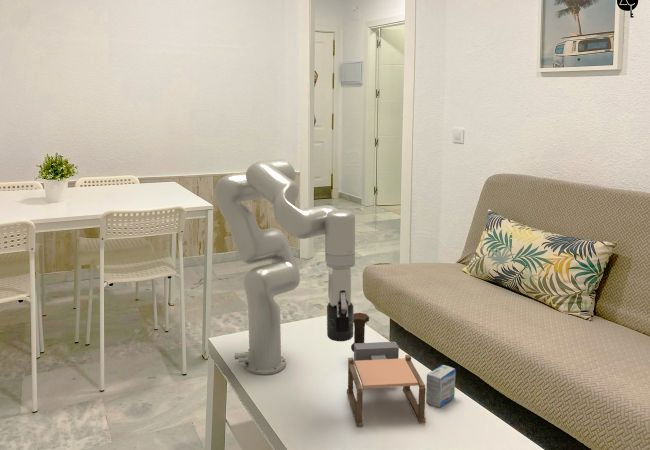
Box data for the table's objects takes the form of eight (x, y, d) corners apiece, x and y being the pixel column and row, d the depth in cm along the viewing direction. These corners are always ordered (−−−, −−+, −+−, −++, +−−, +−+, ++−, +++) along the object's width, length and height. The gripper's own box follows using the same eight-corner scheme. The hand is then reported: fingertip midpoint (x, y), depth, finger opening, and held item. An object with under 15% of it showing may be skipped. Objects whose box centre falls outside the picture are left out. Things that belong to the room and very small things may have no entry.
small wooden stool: (356, 426, 150) (357, 386, 148) (346, 393, 167) (347, 356, 164) (425, 422, 152) (426, 383, 149) (408, 389, 169) (409, 353, 166)
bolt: (368, 357, 188) (369, 313, 185) (368, 365, 183) (368, 319, 180) (350, 357, 189) (350, 312, 186) (349, 364, 184) (349, 318, 181)
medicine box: (439, 408, 159) (441, 378, 157) (425, 402, 162) (426, 373, 160) (454, 397, 164) (456, 368, 163) (440, 392, 167) (442, 363, 165)
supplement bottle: (348, 330, 159) (348, 287, 157) (356, 340, 153) (357, 295, 150) (324, 333, 158) (323, 289, 155) (331, 343, 151) (330, 298, 149)
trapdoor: (363, 395, 150) (363, 378, 149) (350, 358, 170) (350, 343, 169) (417, 392, 152) (418, 375, 151) (398, 356, 172) (398, 341, 171)
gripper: (322, 251, 159) (322, 314, 163) (328, 269, 142) (329, 339, 146) (350, 250, 160) (350, 313, 163) (360, 268, 143) (359, 338, 147)
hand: (340, 325), depth 155 cm, fingers closed on supplement bottle, 6 cm apart
